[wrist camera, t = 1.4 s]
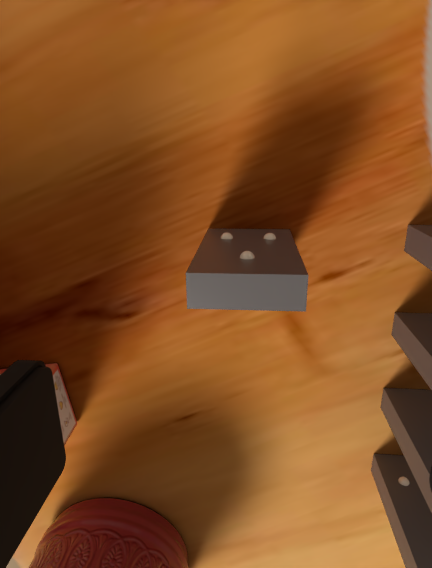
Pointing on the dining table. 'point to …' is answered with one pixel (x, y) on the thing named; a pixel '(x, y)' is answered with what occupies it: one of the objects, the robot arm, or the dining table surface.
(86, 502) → the canister
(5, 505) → the robot arm
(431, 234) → the domino
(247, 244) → the domino
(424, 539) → the domino
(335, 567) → the dining table surface
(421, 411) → the domino
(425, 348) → the domino
